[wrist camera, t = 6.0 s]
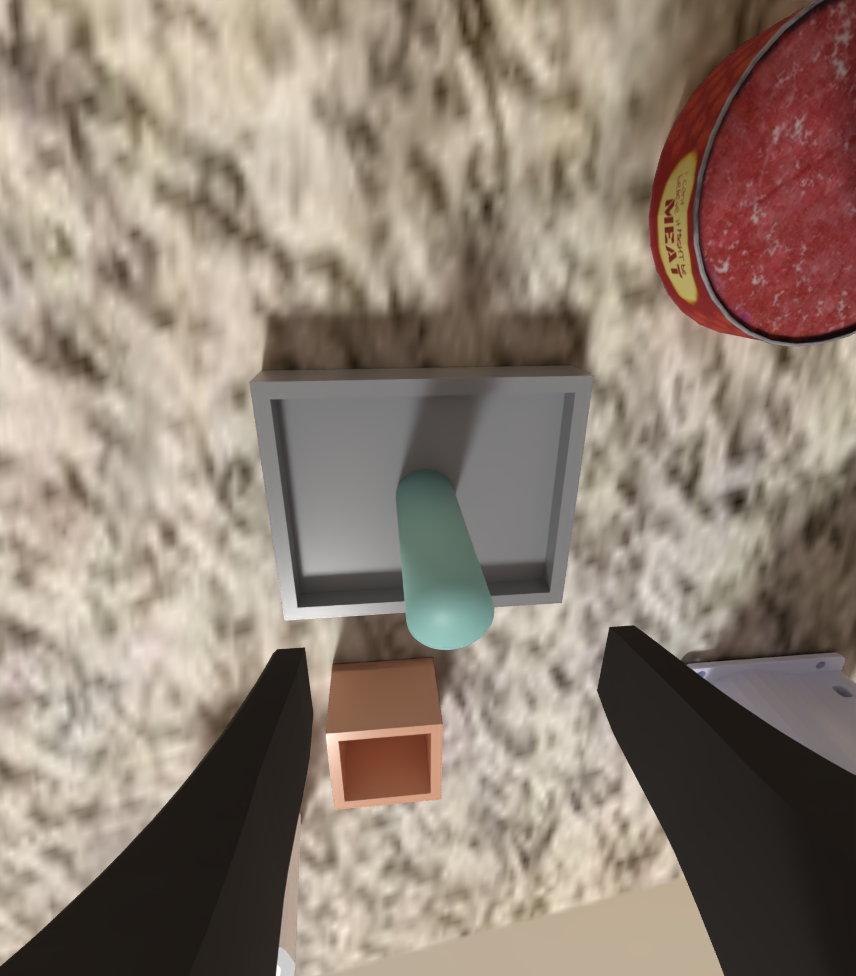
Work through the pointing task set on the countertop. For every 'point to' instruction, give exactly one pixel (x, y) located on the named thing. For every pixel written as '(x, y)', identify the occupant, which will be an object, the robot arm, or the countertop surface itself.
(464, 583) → the pin
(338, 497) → the tray
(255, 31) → the countertop surface
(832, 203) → the canned food
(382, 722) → the open box
